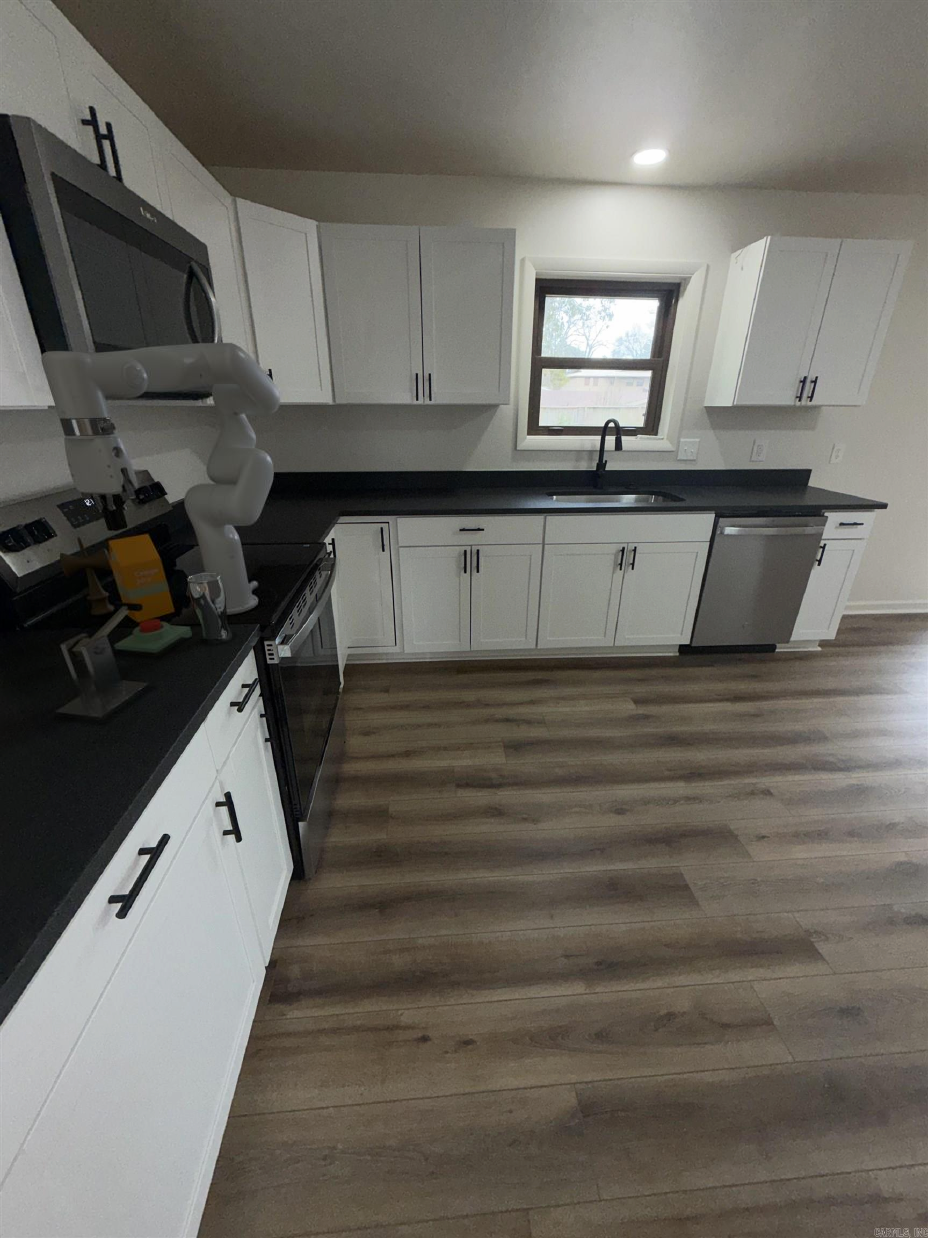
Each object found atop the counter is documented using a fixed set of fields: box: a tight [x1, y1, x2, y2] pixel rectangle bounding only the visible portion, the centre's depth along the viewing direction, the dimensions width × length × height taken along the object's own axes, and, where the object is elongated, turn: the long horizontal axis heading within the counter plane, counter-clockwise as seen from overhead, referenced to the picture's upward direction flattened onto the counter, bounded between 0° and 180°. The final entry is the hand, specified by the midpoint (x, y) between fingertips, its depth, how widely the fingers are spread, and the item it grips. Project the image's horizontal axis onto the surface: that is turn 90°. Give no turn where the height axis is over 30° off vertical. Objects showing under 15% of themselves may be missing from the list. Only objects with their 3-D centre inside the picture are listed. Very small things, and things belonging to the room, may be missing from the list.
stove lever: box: [72, 601, 143, 660], centre depth 89 cm, size 13×5×2 cm, turn 170°
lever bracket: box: [55, 633, 149, 718], centre depth 87 cm, size 11×9×13 cm
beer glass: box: [186, 571, 233, 642], centre depth 110 cm, size 7×7×15 cm
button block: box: [113, 621, 193, 654], centre depth 110 cm, size 11×10×4 cm
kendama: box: [59, 536, 115, 616], centre depth 123 cm, size 6×10×20 cm, turn 124°
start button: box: [138, 618, 162, 633], centre depth 109 cm, size 4×4×2 cm
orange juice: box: [108, 533, 175, 623], centre depth 122 cm, size 8×9×20 cm
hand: (118, 529), depth 97 cm, fingers closed
